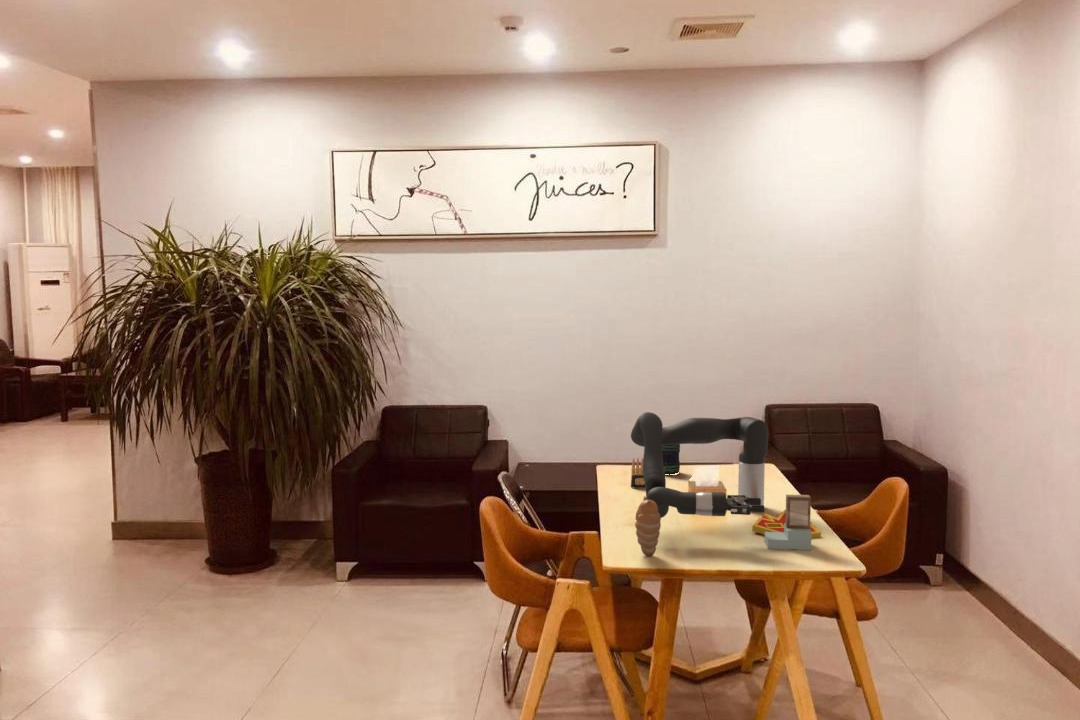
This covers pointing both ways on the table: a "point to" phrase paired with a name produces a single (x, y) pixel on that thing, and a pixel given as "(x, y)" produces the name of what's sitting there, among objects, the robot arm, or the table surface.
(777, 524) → the wall decoration
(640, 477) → the ammunition clip
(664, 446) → the storage jar
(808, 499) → the frame
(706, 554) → the table surface
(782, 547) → the blue-grey stepped block
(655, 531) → the brown ribbed tall piece
